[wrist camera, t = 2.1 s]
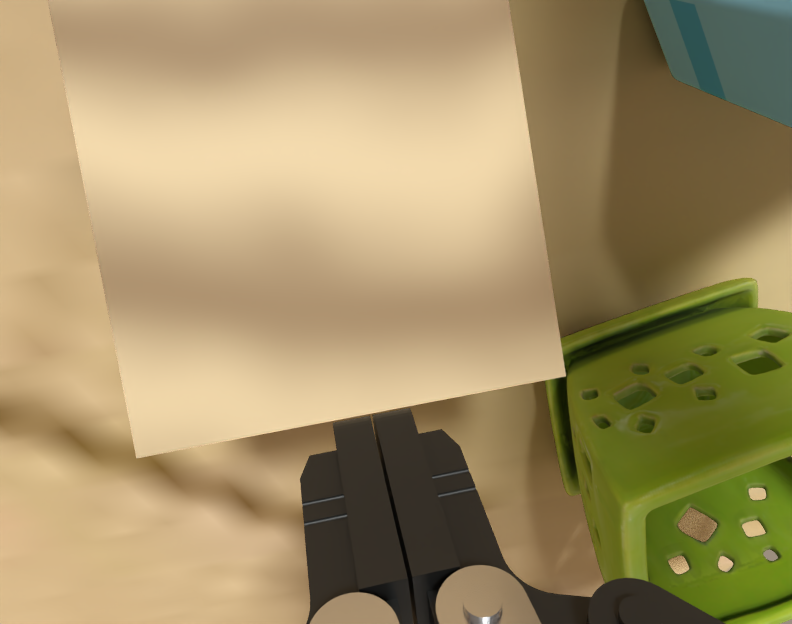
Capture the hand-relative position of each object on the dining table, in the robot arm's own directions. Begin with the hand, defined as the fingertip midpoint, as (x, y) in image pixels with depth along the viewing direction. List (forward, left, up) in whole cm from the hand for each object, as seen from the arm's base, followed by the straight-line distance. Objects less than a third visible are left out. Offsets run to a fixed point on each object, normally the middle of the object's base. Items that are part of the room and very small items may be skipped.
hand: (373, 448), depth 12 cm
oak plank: (-5, 0, -12) cm, 13 cm away
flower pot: (+16, +17, -18) cm, 30 cm away
